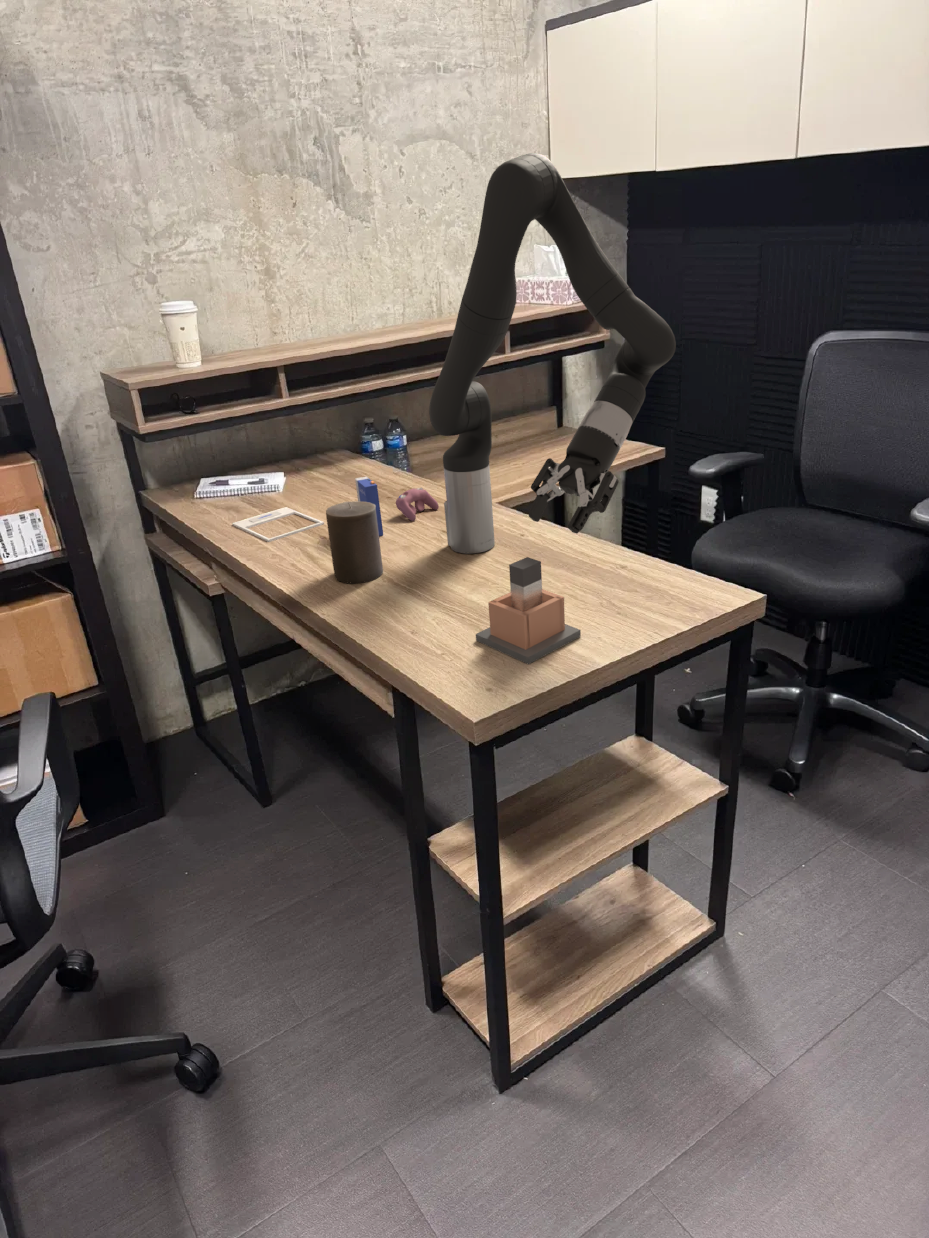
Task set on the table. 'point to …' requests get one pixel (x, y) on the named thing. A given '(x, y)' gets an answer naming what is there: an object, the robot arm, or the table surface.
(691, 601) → the table surface
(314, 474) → the table surface
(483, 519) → the robot arm
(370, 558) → the pillar candle
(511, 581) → the grey block
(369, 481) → the walkman
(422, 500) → the video game controller
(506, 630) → the box
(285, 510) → the photo frame
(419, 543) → the table surface
